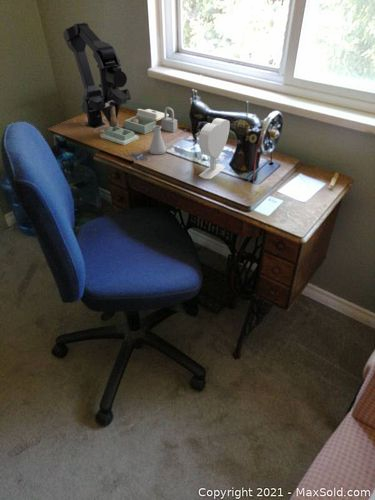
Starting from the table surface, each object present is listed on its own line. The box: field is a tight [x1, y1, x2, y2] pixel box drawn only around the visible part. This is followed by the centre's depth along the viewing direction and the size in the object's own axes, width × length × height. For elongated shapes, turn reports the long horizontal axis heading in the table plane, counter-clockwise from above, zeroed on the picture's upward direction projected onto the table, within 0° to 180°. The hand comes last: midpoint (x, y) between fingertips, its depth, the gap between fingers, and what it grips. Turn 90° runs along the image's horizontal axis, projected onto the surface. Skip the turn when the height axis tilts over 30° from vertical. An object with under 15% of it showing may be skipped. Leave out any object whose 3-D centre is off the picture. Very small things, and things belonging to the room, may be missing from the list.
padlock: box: [160, 106, 178, 133], centre depth 166 cm, size 7×4×10 cm, turn 52°
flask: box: [148, 125, 168, 155], centre depth 147 cm, size 7×7×10 cm
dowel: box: [108, 104, 118, 127], centre depth 157 cm, size 3×3×8 cm
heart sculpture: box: [198, 117, 231, 180], centre depth 132 cm, size 16×5×18 cm, turn 148°
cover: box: [135, 108, 170, 122], centre depth 171 cm, size 12×8×3 cm
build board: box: [99, 125, 140, 146], centre depth 160 cm, size 14×9×3 cm, turn 53°
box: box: [123, 115, 158, 135], centre depth 168 cm, size 12×8×4 cm, turn 53°
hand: (112, 120), depth 158 cm, fingers closed on dowel, 3 cm apart
